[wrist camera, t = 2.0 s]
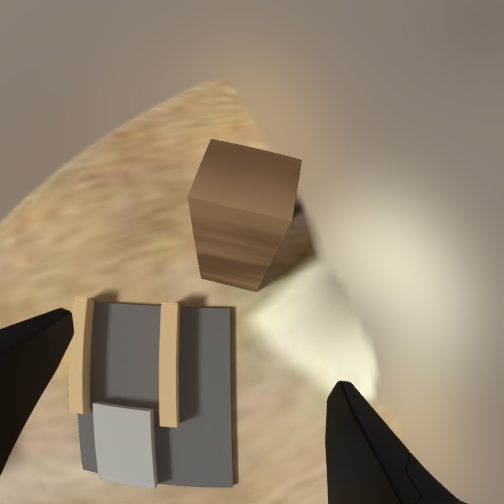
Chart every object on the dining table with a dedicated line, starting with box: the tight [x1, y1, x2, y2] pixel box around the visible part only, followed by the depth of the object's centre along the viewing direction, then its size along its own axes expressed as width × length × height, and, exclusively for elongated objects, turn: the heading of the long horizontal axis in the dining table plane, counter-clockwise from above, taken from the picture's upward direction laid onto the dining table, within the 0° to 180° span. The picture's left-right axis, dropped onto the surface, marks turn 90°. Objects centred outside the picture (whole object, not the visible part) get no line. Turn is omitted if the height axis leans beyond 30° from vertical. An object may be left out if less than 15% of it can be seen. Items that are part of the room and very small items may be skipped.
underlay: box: [69, 296, 233, 489], centre depth 19 cm, size 14×12×2 cm
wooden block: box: [188, 139, 302, 292], centre depth 19 cm, size 4×4×12 cm
